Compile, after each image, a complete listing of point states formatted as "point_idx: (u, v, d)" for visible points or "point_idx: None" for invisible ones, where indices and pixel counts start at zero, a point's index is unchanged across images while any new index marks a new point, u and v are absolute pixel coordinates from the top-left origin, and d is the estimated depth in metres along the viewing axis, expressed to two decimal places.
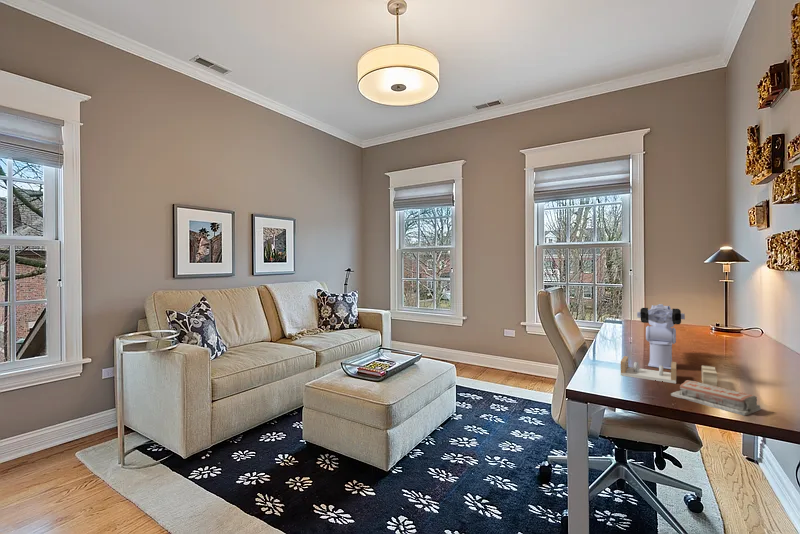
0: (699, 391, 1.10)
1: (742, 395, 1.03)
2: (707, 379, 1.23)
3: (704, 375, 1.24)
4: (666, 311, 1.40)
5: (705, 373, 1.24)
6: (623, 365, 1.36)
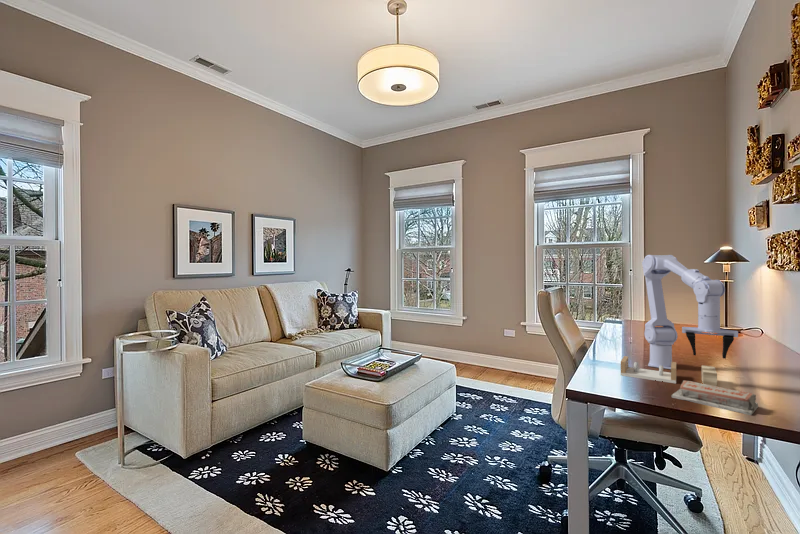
0: (701, 392, 1.09)
1: (744, 394, 1.04)
2: (707, 379, 1.23)
3: (704, 375, 1.24)
4: (716, 332, 1.25)
5: (705, 373, 1.24)
6: (623, 365, 1.36)
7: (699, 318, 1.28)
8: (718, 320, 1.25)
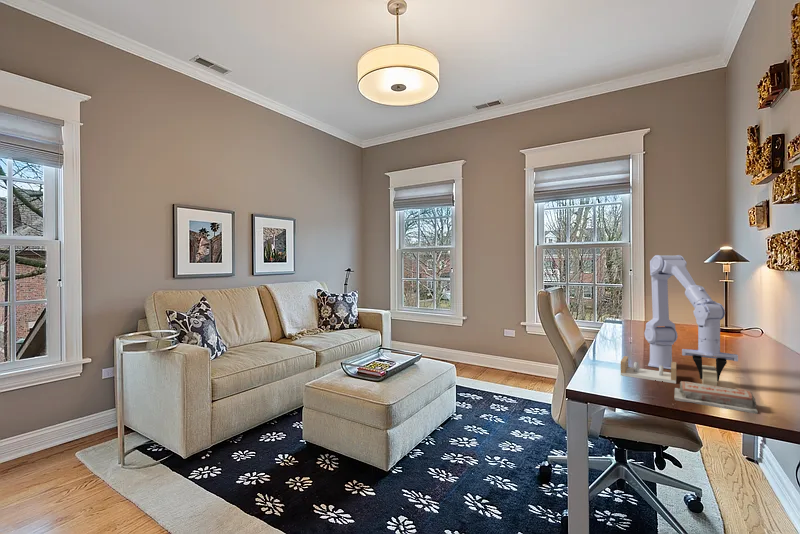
0: (705, 393, 1.08)
1: (744, 392, 1.06)
2: (707, 379, 1.23)
3: (704, 375, 1.24)
4: None
5: (705, 373, 1.24)
6: (623, 365, 1.36)
7: (699, 341, 1.28)
8: (718, 344, 1.25)
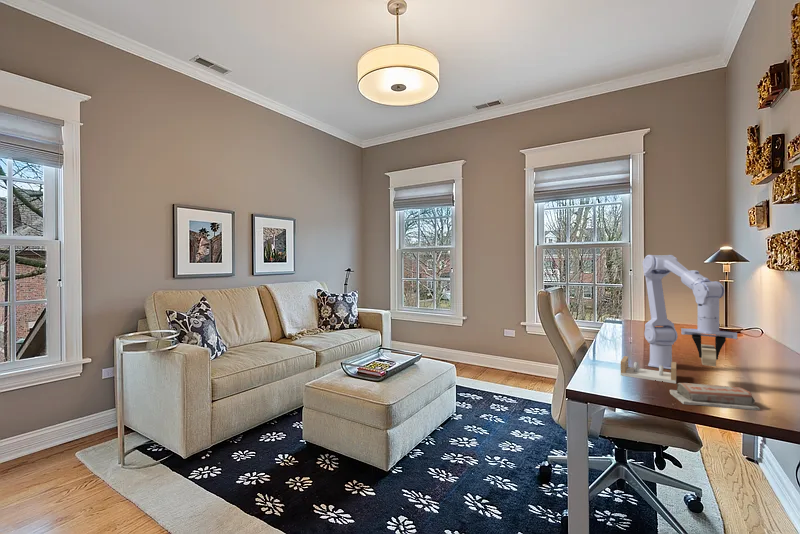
0: (710, 394, 1.07)
1: (740, 389, 1.08)
2: (706, 356, 1.23)
3: (703, 352, 1.24)
4: None
5: (704, 350, 1.24)
6: (623, 365, 1.36)
7: (698, 320, 1.28)
8: (717, 322, 1.25)
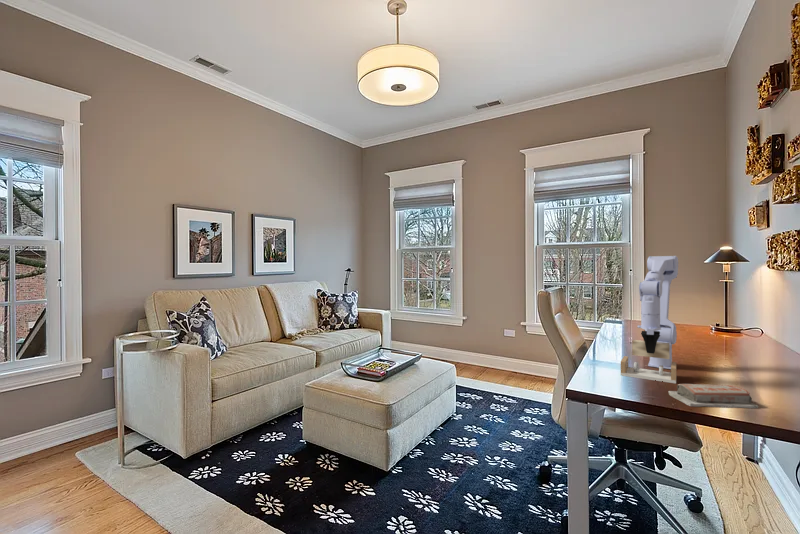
0: (713, 394, 1.07)
1: (737, 388, 1.09)
2: None
3: None
4: None
5: (632, 341, 1.40)
6: (623, 365, 1.36)
7: None
8: (645, 317, 1.35)
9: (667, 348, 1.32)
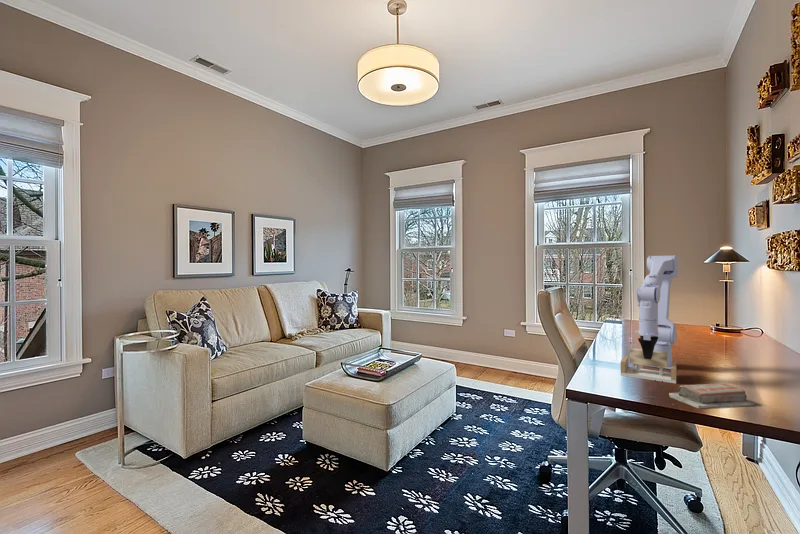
0: (716, 394, 1.07)
1: (732, 386, 1.11)
2: None
3: None
4: None
5: (630, 349, 1.41)
6: (623, 365, 1.36)
7: None
8: (642, 323, 1.36)
9: (664, 357, 1.32)
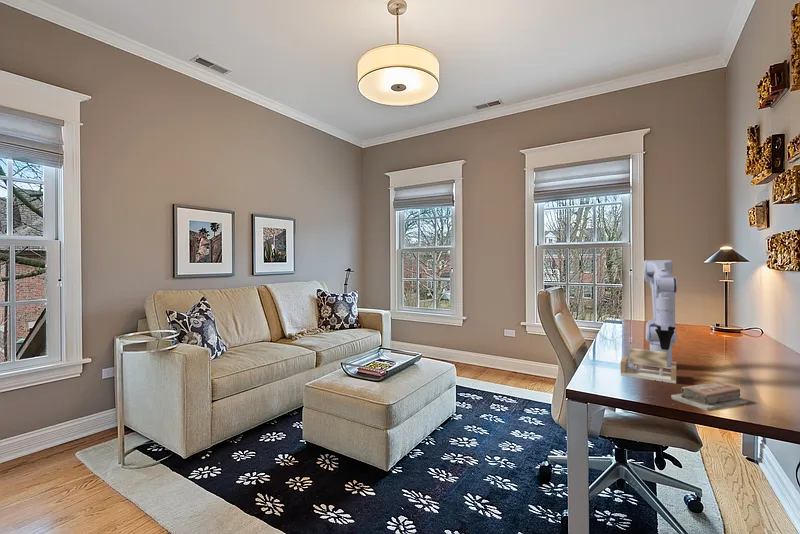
0: (719, 395, 1.07)
1: (726, 384, 1.13)
2: None
3: None
4: None
5: (630, 349, 1.41)
6: (623, 365, 1.36)
7: None
8: (659, 313, 1.37)
9: (664, 357, 1.32)
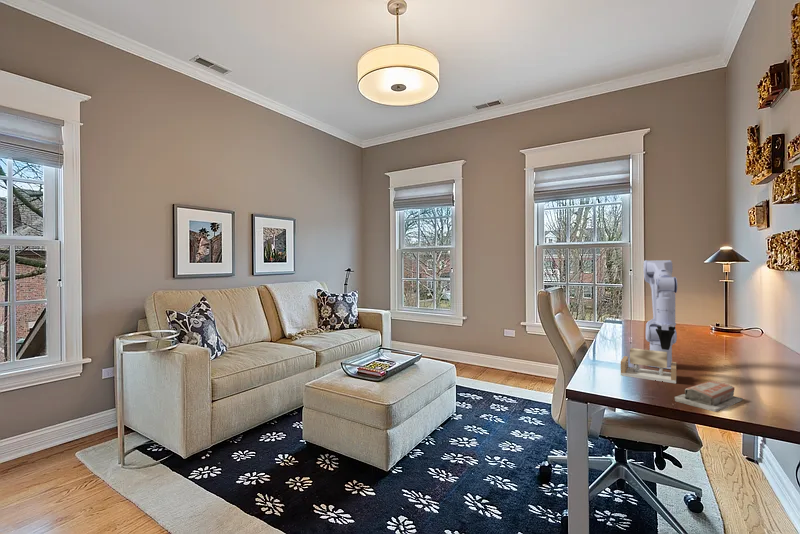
0: (721, 395, 1.07)
1: (720, 383, 1.14)
2: None
3: None
4: None
5: (630, 349, 1.41)
6: (623, 365, 1.36)
7: None
8: (660, 313, 1.37)
9: (664, 357, 1.32)
